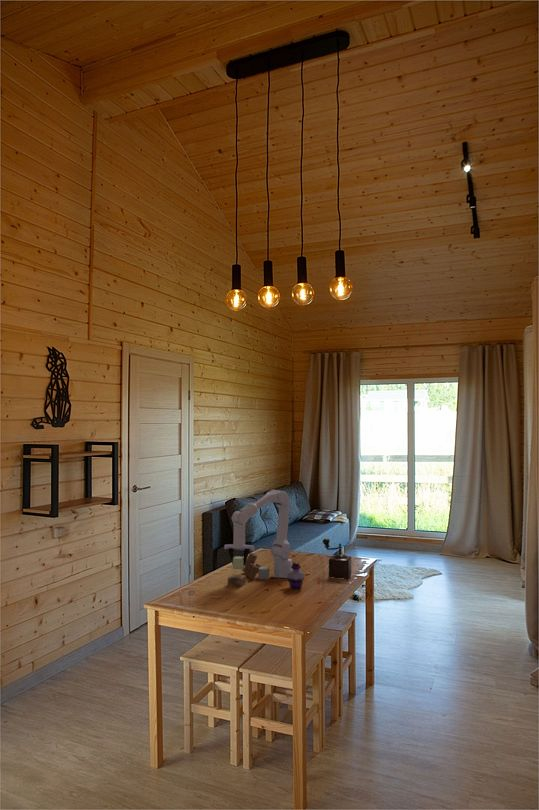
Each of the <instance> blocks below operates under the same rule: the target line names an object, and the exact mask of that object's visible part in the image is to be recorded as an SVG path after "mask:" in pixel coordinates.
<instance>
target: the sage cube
mask: <svg viewBox="0 0 539 810" xmlns="http://www.w3.org/2000/svg"><path fill="white" fill-rule="evenodd" d="M244 568H245V565H244V556H241V555H240V556H239V555H238V556H235V557H234V558H233V565H232V569H233V570H241V571H242V570H243V569H244Z"/></svg>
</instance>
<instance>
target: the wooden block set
mask: <svg viewBox="0 0 539 810" xmlns="http://www.w3.org/2000/svg"><path fill="white" fill-rule="evenodd" d="M257 558H258V555H257V554H256V553H254V552H249V554H248V557H247V560H246V565H245V568H244V569H243V570H241V571H242V573H244V574H245V575H246V577H248V578H250V579H251V580H255V579H256V575H258V574H257V573H258V571H259V567H262V565H260V564H258V563H256V561H257Z"/></svg>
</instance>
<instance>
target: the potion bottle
mask: <svg viewBox="0 0 539 810" xmlns="http://www.w3.org/2000/svg"><path fill="white" fill-rule="evenodd" d="M291 568H292V571H290V572H288V573H287V576H288V578H286V579H287V582H289V586H290V587H289V589H291V588H292V589H291V590H296V589H298V590H301V589H302V587H303V581H304V579H305V575H306V573H305V572H303V571H301V570H300V569H301V565H300V562H297V561H294V562H293V561H292V565H291ZM300 588H301V589H300Z"/></svg>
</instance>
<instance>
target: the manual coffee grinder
mask: <svg viewBox="0 0 539 810" xmlns="http://www.w3.org/2000/svg"><path fill="white" fill-rule="evenodd" d="M330 541H331V540H330V539H329V538H324V539H322V543H323V545H324V548H325V549H326V550H327V551H332V550H334V551H335V550H339V551H338V553H336V554H333V555H332V556H330V557H329V559H328V578H329V577H334V578H333V579H338V578H344V579H343V580H349V579H350V578H351V577H350V576H352V575H351V574H352V556H349V555H346V554H344V553H343V552H342V544H341V543H339V544H338V547H331V546H330ZM330 547H331V548H330Z"/></svg>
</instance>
